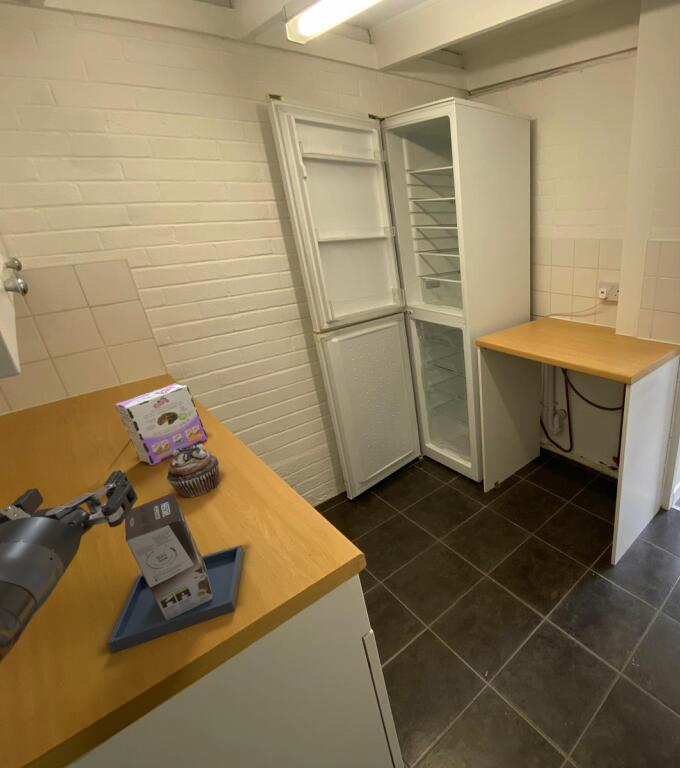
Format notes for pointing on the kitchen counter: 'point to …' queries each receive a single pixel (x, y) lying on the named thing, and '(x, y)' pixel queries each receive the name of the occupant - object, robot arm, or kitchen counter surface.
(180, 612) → the coffee box
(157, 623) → the tray
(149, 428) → the candy box
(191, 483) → the cupcake
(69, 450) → the kitchen counter surface
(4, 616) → the robot arm
